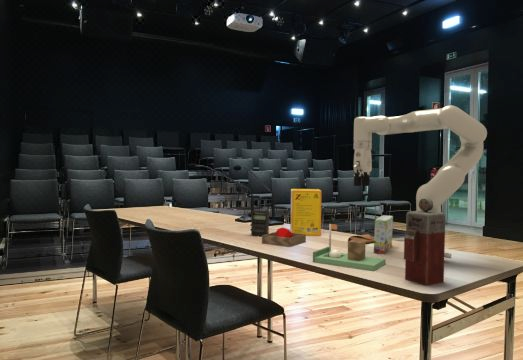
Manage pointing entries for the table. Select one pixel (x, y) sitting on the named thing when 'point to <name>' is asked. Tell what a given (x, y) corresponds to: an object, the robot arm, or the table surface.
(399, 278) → the table surface
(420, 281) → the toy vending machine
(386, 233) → the snack box
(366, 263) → the green
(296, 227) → the packaging box
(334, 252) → the ball
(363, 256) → the block
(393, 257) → the table surface
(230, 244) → the table surface
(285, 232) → the gemstone
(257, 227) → the geiger counter
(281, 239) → the display frame
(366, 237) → the sunglasses case
